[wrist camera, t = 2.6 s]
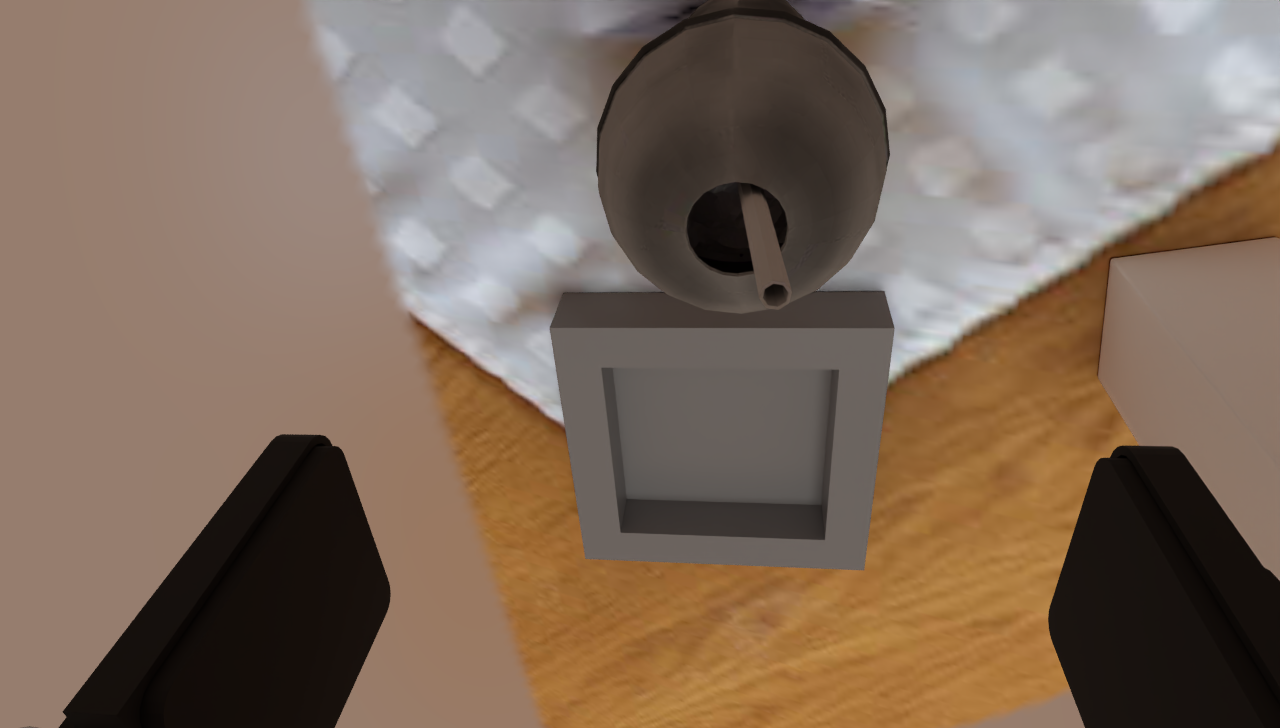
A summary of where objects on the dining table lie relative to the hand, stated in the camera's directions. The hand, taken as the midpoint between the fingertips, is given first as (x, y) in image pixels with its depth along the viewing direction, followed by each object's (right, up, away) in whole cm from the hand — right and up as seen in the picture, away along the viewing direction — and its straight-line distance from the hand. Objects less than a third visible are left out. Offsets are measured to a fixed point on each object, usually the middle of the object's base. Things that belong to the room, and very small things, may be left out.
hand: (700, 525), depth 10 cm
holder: (+3, -1, +29) cm, 29 cm away
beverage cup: (+3, +14, +19) cm, 24 cm away
